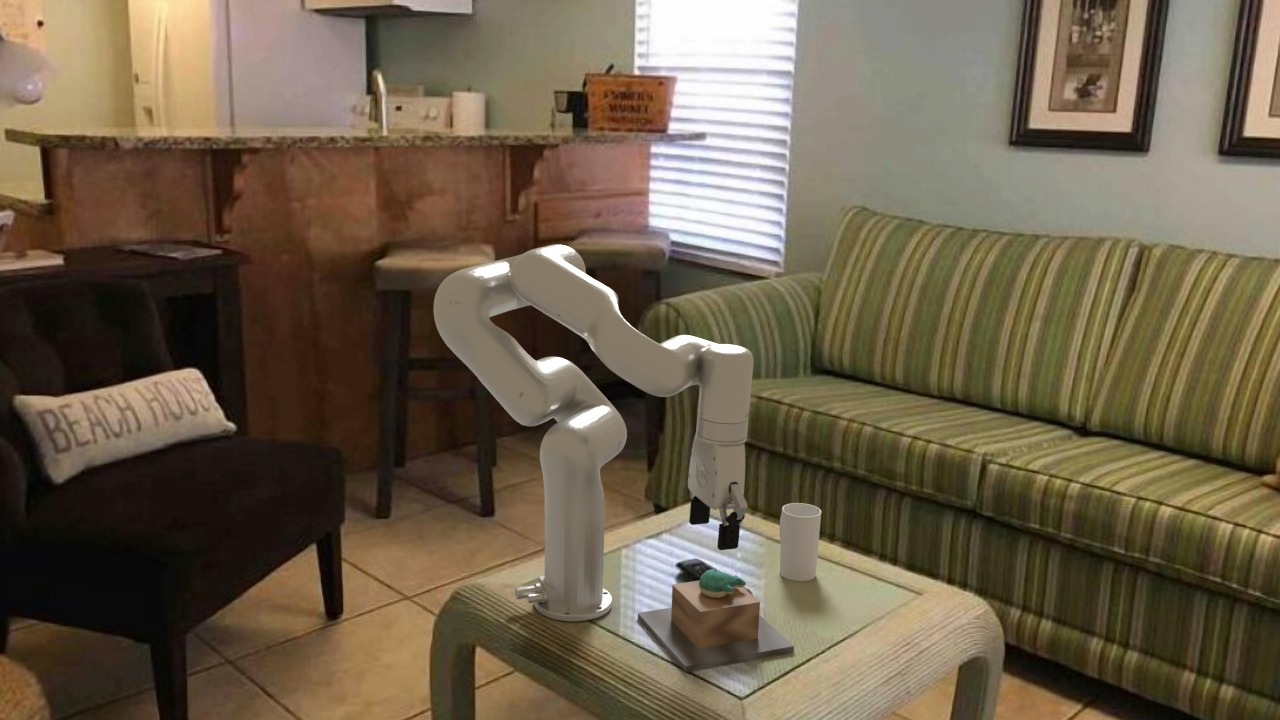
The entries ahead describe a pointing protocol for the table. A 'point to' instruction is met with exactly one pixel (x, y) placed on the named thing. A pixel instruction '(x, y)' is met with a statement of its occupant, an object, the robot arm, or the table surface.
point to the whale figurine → (719, 583)
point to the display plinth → (712, 653)
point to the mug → (799, 541)
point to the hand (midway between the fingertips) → (713, 535)
